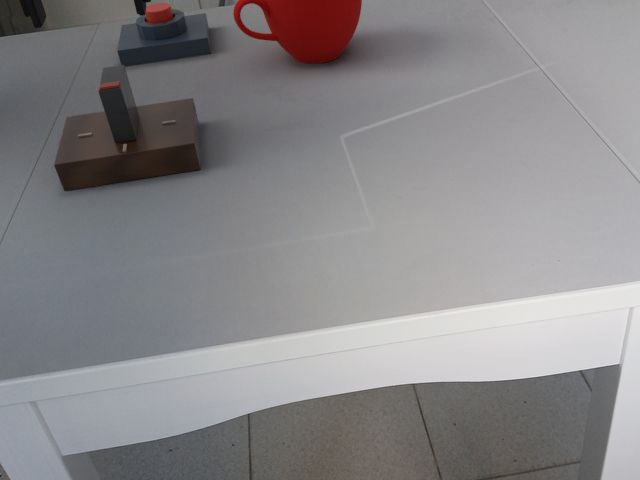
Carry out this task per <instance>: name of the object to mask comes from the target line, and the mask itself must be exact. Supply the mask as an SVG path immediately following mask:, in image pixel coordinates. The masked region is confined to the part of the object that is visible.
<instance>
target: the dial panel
mask: <svg viewBox="0 0 640 480" xmlns="http://www.w3.org/2000/svg"><path fill="white" fill-rule="evenodd" d="M195 104H196V103H195V100H194V98H193V97H189V98H183V99H178V100H177V99H176V100H171V101H164V102H157V103H151V104H143V105H138V106H137V105H136V107H137V110H138V114H139V117H138V128H137V139H136V140H133V141H127V142H120V143H115V142H114V139H113V135H112V132H111V129H110V126H109V123H108V120H107V117H106V114H105V111H104V110H103V111H98V112H97V111H96V112H90V113H86V114H85V113H84V114H77V115H71V116H70V115H69V116H66V118H65V123H64V126H63V129H62V133H61V137H60V141H59V145H58V148H57V152H56V155H55V159H54V163H53V166H54V168H55V171H56V173H57V177H58V178H59V181H60V184H61V186H62V189H63V191H64V192H66V191H72V190H79V189H85V188H91V187H98V186H99V187H100V186H105V185H112V184H117V183H124V182H131V181H136V180H137V181H138V180H143V179H149V178H155V177H161V176H167V175H175V174H180V173H188V172H195V171H200V170H201V169H202V167H201V144H200V143H201V142H200V121H199V117H198V113H197V110H196V105H195Z"/></svg>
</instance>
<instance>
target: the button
mask: <svg viewBox="0 0 640 480" xmlns="http://www.w3.org/2000/svg"><path fill="white" fill-rule="evenodd" d="M172 9H173V8H172V5H171V4H170V3H168V2H155V3H152V4H148V5H146V14H145V16H146V19H147V23H161V22H166V21H169V20H171V19H173V18H174V17H173V13H172Z"/></svg>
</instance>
